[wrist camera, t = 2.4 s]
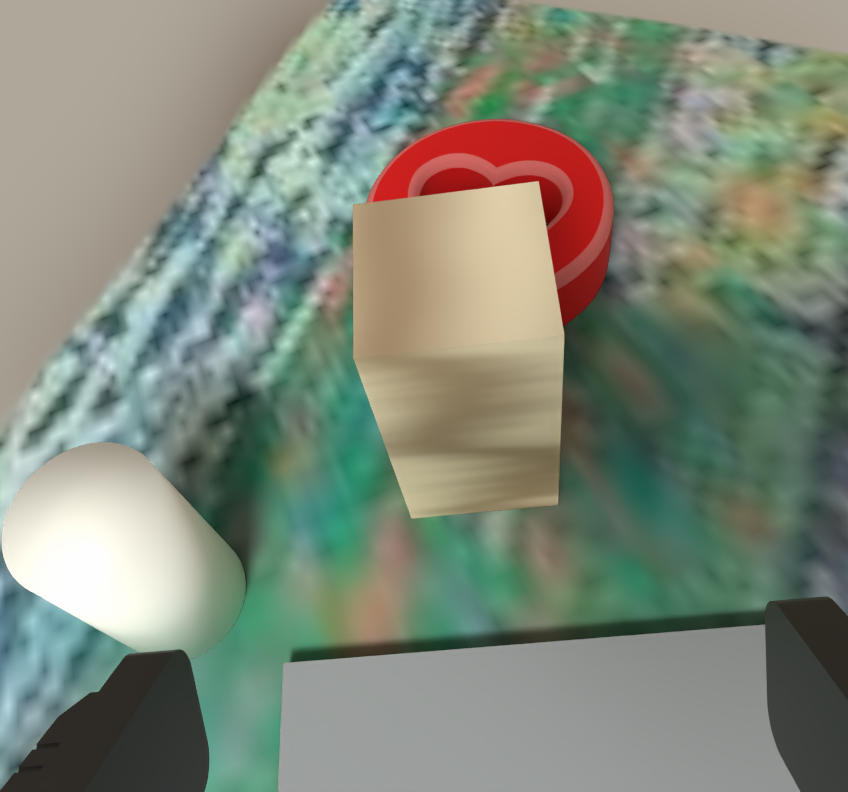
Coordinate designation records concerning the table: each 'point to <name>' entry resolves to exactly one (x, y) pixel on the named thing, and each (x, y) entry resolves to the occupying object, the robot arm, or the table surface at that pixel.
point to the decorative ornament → (513, 164)
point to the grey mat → (537, 718)
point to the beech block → (461, 346)
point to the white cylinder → (123, 551)
